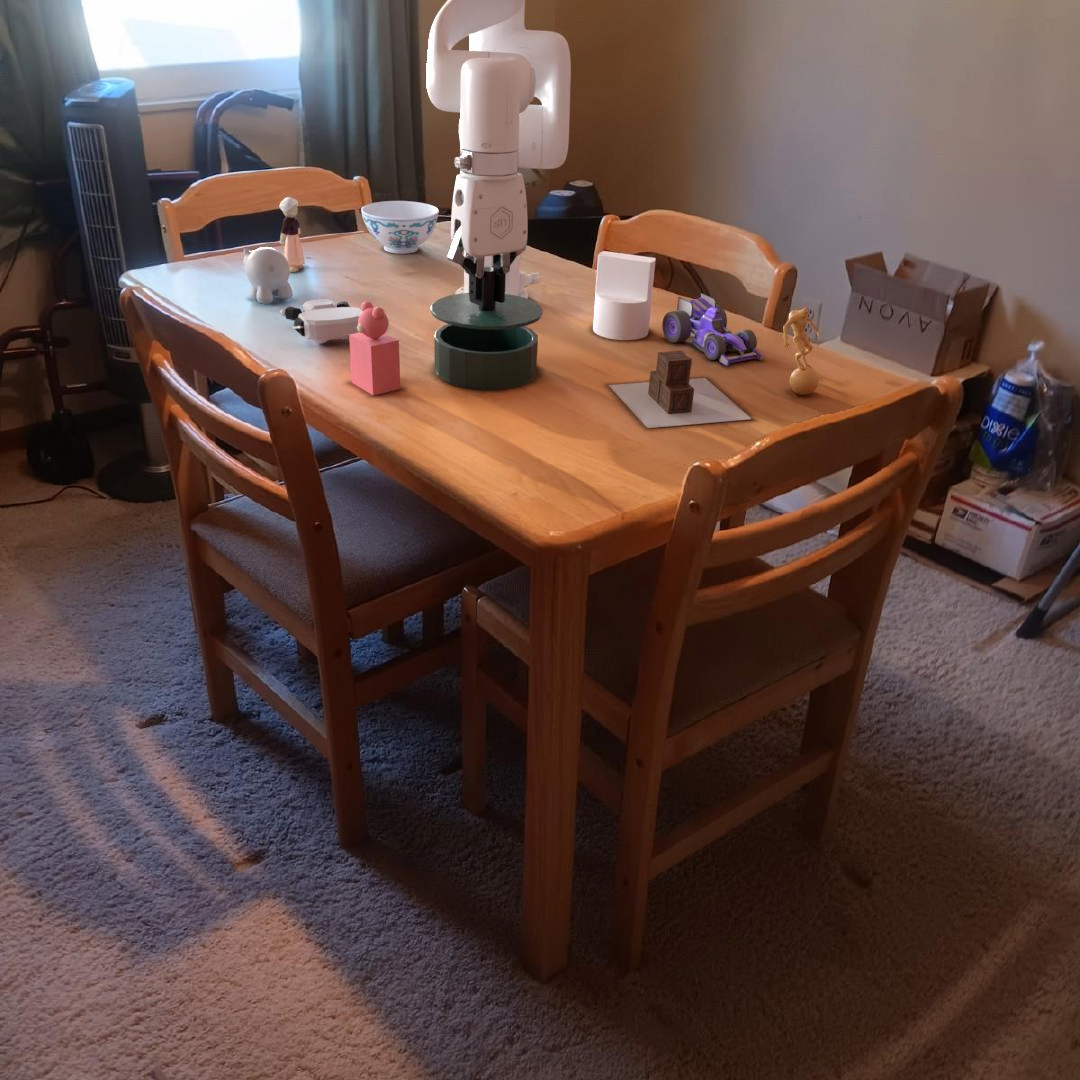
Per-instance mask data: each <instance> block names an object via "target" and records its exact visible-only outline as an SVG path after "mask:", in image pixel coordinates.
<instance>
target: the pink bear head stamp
mask: <svg viewBox="0 0 1080 1080" xmlns="http://www.w3.org/2000/svg"><path fill="white" fill-rule="evenodd" d="M360 310H362V311H363V312H362V313H361V314H360V316H359V319H358V326H357V330H358V332H359V333H355V334H350V335H349V340H348V341H349V355H350V356H349V357H350V372H351V373H350V374H351V383H352V384H353V385H355V386H356V387H358V388H359V389H361V390H363V391H365V392H366V393H368V394H369V395H372V396H378V395H381V394H382V395H383V394H385V393H390V392H394V391H396V390H397V391H398V390H401V363H400V361H401V360H400V340H399V339H398V338H395V337H393V336H392V335H389V334H388V333H387V331H388V329H389V317H388V316H387V314H386V313H385V310H384V308H382V307H380V306H376V307H374V305H373V304H372V302H370V301H364V302H363V303H362V304H361V306H360Z"/></svg>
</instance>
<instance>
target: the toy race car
mask: <svg viewBox="0 0 1080 1080" xmlns="http://www.w3.org/2000/svg"><path fill="white" fill-rule="evenodd" d="M727 326H728V316H727V313H726V310H725V309H724V308H723V307H722V306H721V305H719V304H717V301H716V299H715V298H714V297H712V296H710V295H707V294H705V293H703V292H701V293H700V297H698V298H694V299H689V300H688V299H686V298H683V297H681V296H678V299H677V307H676V310H673V311H668V312H667V313H665V314H664V316H663V319H662V325H661V328H662V329H661V330H662V333H663V335H664V338H665V339H666V341H668V342H669V343H672V344H673V343H674V344H675V343H681V342H686V341H687V340H688V339H689V338H690V337H693V338H692V339H690V343H691V344H692V345H693V346H695V348H697V349H698V350H700V351H701V352H703V353H704V355H705V357H706V358H707V359H708V360H710V361H715V360H719V361H718V362H719V363H721V364H722V365H724V366H726V367H728V366H730V364H733V363H736V362H742V361H747V360H753V359H756V360H757V361H761V360H762V355H763V354H762V353H761V352H760V351H759V350H758V349H757V346H758V340H757V336H756V334H755V332H754V331H753V330H751V329H748V328H747V329H741V330H739V331H737V332H736V333H732V331H731V330H730V329H729V328H728V327H727ZM726 352H737V353H738V354H739V355H734V356H726Z"/></svg>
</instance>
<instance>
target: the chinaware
mask: <svg viewBox="0 0 1080 1080" xmlns="http://www.w3.org/2000/svg"><path fill="white" fill-rule="evenodd" d="M360 211H361V215H362V220H363V222H364V225H365V227H366V228H367V231H368V232H369V233H370V236H372V237H373V238H374V239H375V240H376V241H377V242H378V243H379V244H381V245H382V246H383V249H384V251H386V252H388V253H391V254H401V255H402V254H413V253H416V252H417V251H419V246H420V245H422V244H423V243H425V242H426V241H427V240H428V239H429V237H431V235H432V233H433V232H434V230H435V228H436V225H437V222H438V218H439V213H440V210H439V209H438V207H437V206H434V205H432V204H428V203H425V202H419V201H408V200H385V201H378V202H372V203H368V204H365V205H364V206H362V207H361V209H360Z"/></svg>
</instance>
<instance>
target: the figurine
mask: <svg viewBox="0 0 1080 1080" xmlns="http://www.w3.org/2000/svg"><path fill="white" fill-rule="evenodd" d="M808 323H809V325H810V327H811V328H812V329H813V330H814V331H815V333H816V335H817V339H821V336H820V333H819V330H818V327H817V326H816V325H815V323H814V322H813V320H812V318H811V317H810V316H809V309H808V308H802V309H794V310H791V311H790V312H789V314H788V320H787V322H786V323H784V325H783V326H782V327H783V328H782V331H783V348H784V350H786V351H788V350H790V348H789V347H790V346H791V345H790V344H789V342H788V328H789V327H790V326H791V328H792V331H793V335H794V336H793V337H792V341H793V344H794V346H795V347H796V349H797V350H798V352H796V353H795V362H796V365H797V368H795V369H794V370H793V371H792V372H791V374H790V376H789V387H790V389H791V390H792V391H793V392H794V393H795V394H798V395H800V396H806V395H810V394H812V393H813V392H814V391H815V390H816V389H817V387H818V385H819V376H818V373H817V371H816V370H815V369H813V368H812V366H811V365H810V364H809V363H808V362H807V359H806V357H805V356H807V355H808V354H809V353H811V352H812V351H813V348H814V347H813V345H812V343H811V342H810V339H809V337H808V334H807V332H806V331H805V329H806V327H807V325H808ZM800 358H801V359H800ZM801 362H802V363H801Z"/></svg>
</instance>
